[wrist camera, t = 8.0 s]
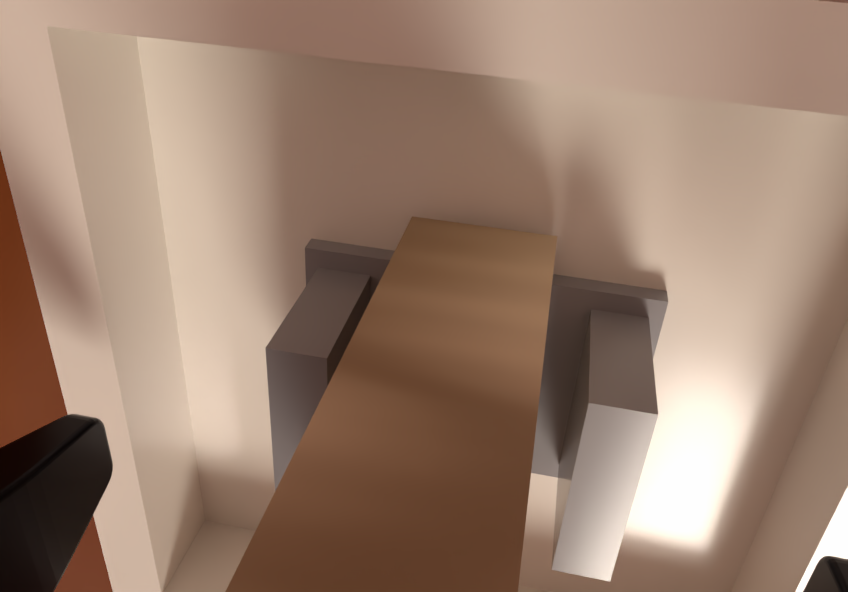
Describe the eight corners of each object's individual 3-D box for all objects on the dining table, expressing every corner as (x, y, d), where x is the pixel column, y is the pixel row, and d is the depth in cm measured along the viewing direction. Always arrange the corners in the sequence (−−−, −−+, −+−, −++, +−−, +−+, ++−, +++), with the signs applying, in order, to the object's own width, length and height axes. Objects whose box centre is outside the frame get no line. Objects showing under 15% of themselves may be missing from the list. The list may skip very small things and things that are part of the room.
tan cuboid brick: (399, 455, 13) (179, 1134, 6) (411, 216, 10) (73, 899, 4) (517, 476, 13) (421, 1213, 6) (557, 236, 10) (469, 1011, 3)
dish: (183, 515, 17) (102, 646, 14) (82, -99, 10) (-103, -76, 8) (750, 631, 15) (782, 806, 12) (1052, -15, 9) (1257, 53, 6)
